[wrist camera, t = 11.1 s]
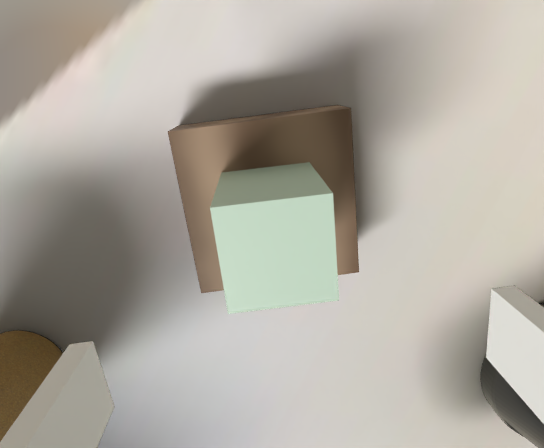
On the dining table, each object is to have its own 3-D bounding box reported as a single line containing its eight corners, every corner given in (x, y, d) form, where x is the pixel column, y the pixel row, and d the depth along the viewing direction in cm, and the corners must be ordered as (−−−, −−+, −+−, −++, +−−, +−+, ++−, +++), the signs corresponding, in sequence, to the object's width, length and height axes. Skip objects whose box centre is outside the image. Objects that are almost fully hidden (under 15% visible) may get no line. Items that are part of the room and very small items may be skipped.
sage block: (309, 162, 26) (332, 193, 19) (315, 243, 28) (339, 300, 21) (221, 172, 26) (210, 207, 19) (233, 253, 28) (228, 314, 21)
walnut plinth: (337, 105, 29) (350, 108, 25) (346, 250, 33) (359, 272, 29) (178, 125, 29) (167, 131, 25) (206, 269, 33) (201, 293, 29)
